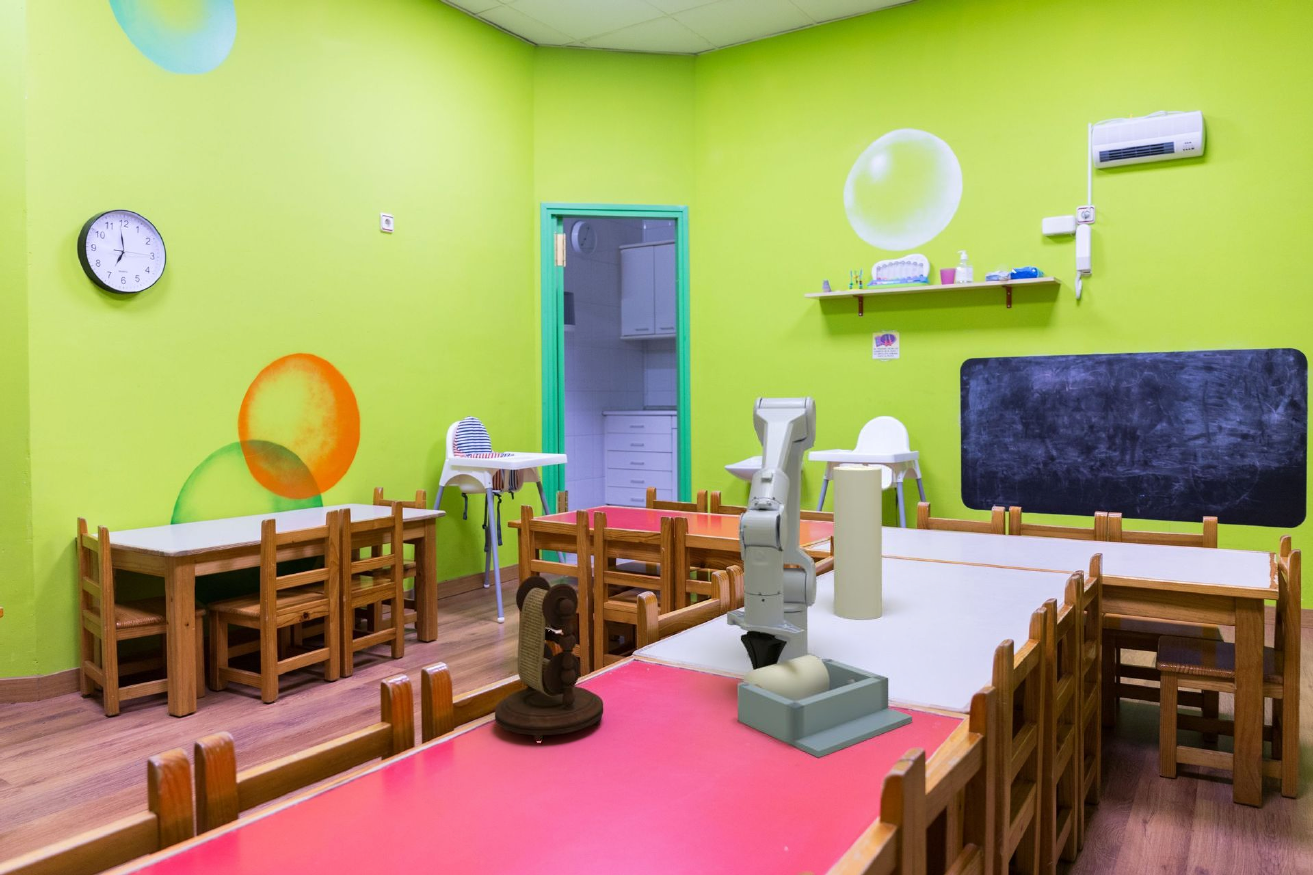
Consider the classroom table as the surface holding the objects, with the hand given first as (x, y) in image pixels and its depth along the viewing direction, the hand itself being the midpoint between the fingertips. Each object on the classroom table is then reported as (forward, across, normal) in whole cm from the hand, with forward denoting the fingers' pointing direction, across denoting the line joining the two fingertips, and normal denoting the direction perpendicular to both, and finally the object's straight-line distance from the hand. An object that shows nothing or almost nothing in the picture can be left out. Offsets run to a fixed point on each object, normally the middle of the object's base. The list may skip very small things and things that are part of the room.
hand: (764, 682), depth 124 cm
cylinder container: (+2, -23, +47) cm, 52 cm away
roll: (-1, +4, 0) cm, 5 cm away
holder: (+2, +12, 0) cm, 12 cm away
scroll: (+2, -11, -30) cm, 32 cm away
